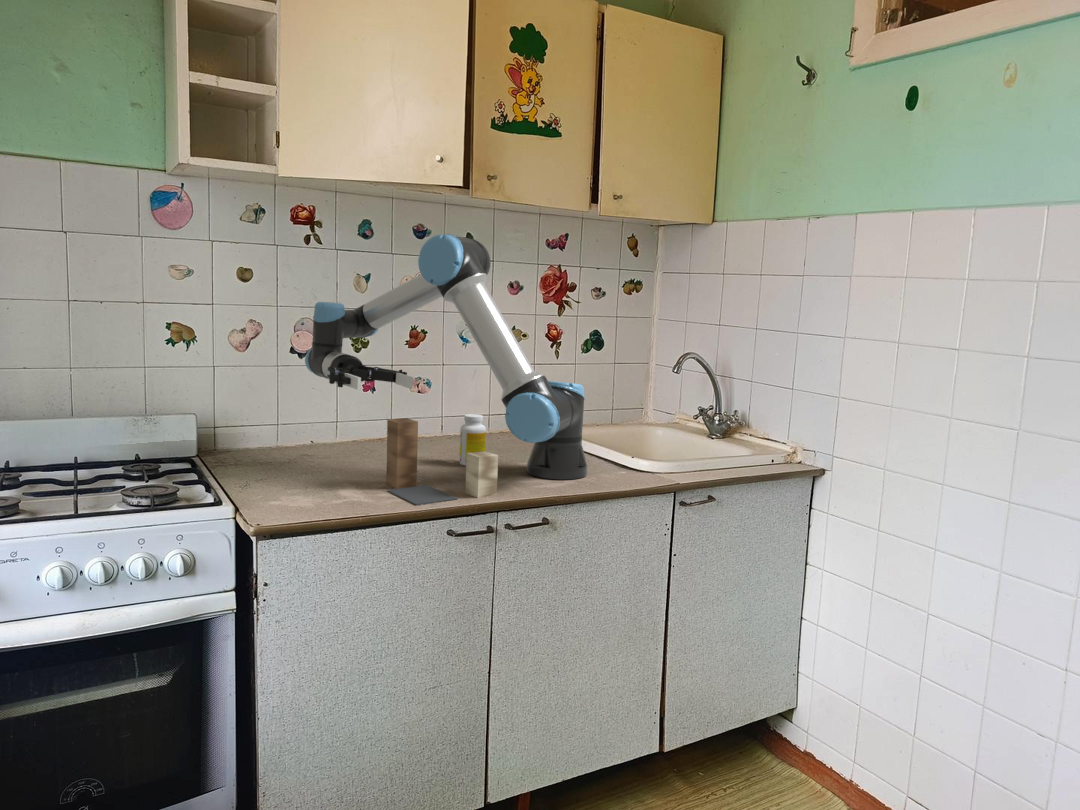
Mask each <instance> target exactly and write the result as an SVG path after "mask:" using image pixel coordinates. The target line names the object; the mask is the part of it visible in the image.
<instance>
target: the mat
mask: <svg viewBox="0 0 1080 810" xmlns="http://www.w3.org/2000/svg"><path fill="white" fill-rule="evenodd" d="M386 491H387V492H388V493H390V494H391V495H394V496H396V497H398V498H400V499H402V500H404V501H407V502H408V503H410V504H412V505H414V504H415V505H414V506H416V505H417V506H422V505H421V504H423V505H428V504H427V503H430V504H435V503H434V502H437V503H442V501H444V502H449V501H455V500H458V497H456V496H454V495H452V494H449V493H447V492H445V491H443V490H440V489H438V488H436V487H433V486H431V485H429V484H423V485H417V486H414V487H407V488H399V489H394V488H392V489H387V490H386Z"/></svg>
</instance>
